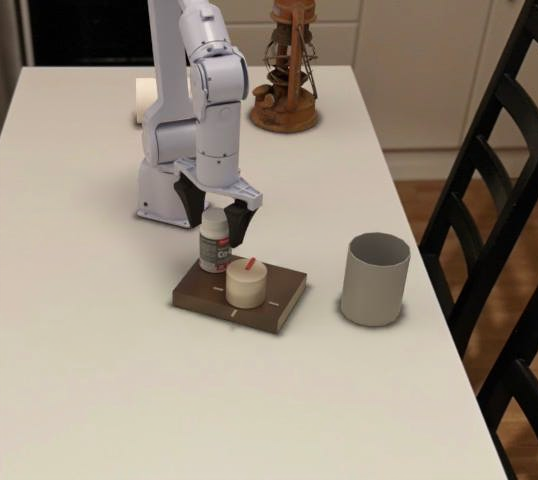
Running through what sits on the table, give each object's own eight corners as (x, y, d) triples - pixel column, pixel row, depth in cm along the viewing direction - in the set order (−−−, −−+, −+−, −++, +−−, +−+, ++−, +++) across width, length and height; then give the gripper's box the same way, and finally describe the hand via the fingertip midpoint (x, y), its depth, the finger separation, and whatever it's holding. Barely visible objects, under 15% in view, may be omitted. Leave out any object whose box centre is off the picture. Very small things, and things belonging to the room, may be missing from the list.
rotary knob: (257, 312, 126) (258, 284, 122) (219, 302, 127) (220, 274, 124) (271, 290, 129) (273, 262, 126) (234, 281, 131) (235, 253, 128)
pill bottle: (221, 277, 132) (223, 227, 126) (193, 268, 134) (193, 218, 128) (237, 260, 135) (239, 211, 129) (209, 252, 136) (209, 202, 131)
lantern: (244, 98, 179) (251, -68, 159) (310, 96, 180) (325, -70, 159) (255, 139, 167) (264, -35, 146) (325, 136, 168) (344, -37, 147)
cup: (404, 297, 132) (415, 238, 125) (394, 331, 127) (405, 271, 120) (346, 286, 134) (355, 227, 127) (334, 319, 129) (342, 259, 122)
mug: (190, 130, 170) (190, 88, 164) (137, 131, 170) (135, 89, 164) (189, 101, 179) (188, 61, 173) (137, 102, 178) (136, 61, 173)
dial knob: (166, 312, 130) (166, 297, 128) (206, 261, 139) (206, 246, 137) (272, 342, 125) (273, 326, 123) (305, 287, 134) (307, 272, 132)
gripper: (279, 154, 120) (273, 242, 129) (197, 119, 127) (197, 205, 136) (244, 174, 116) (240, 263, 125) (162, 137, 123) (164, 224, 133)
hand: (216, 234), depth 131 cm, fingers open, 7 cm apart
